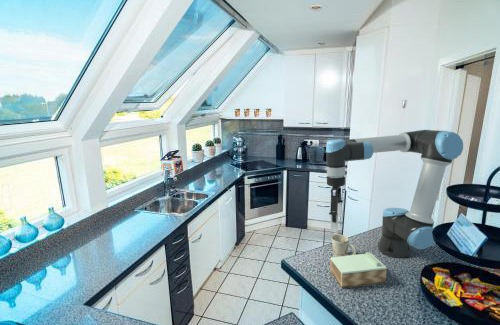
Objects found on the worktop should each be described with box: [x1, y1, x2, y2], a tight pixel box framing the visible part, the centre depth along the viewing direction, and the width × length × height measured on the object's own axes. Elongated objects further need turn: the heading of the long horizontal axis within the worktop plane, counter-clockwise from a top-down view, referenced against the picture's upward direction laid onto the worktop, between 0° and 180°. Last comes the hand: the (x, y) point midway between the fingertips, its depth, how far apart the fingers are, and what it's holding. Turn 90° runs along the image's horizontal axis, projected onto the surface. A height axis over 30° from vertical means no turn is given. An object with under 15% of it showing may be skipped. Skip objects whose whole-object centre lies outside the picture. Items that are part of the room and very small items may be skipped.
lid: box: [330, 251, 388, 274], centre depth 118 cm, size 20×12×2 cm, turn 96°
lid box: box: [329, 259, 387, 289], centre depth 119 cm, size 20×12×6 cm, turn 96°
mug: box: [331, 234, 357, 257], centre depth 135 cm, size 8×13×10 cm, turn 51°
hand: (336, 222), depth 117 cm, fingers open, 13 cm apart
